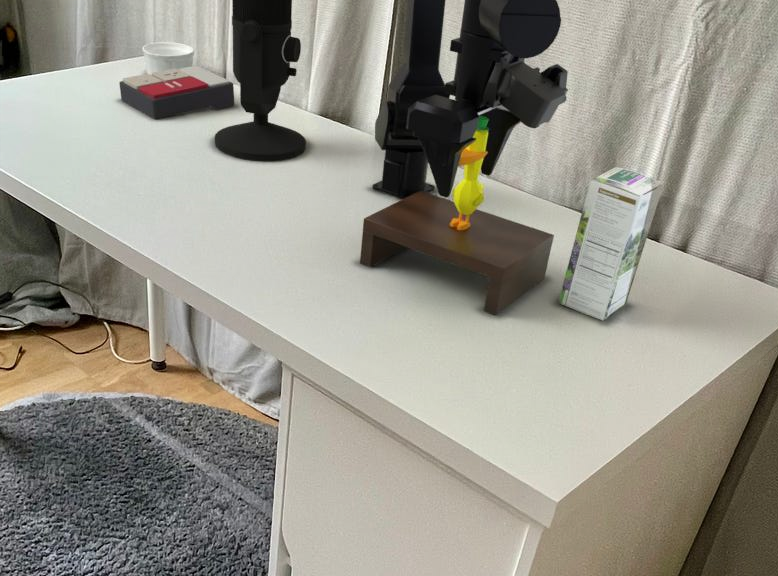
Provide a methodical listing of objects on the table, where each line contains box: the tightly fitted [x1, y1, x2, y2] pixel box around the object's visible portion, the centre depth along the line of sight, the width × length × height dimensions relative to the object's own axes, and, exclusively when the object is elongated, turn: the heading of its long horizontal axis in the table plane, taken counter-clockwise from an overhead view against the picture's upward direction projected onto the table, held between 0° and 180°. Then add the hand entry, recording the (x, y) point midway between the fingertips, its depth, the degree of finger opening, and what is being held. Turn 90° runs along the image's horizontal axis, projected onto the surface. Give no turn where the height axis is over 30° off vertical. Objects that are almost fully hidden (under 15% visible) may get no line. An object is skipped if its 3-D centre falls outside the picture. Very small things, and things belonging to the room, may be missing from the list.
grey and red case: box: [118, 65, 235, 120], centre depth 144 cm, size 11×4×15 cm
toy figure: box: [450, 116, 489, 230], centre depth 97 cm, size 7×4×12 cm, turn 135°
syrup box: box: [558, 166, 664, 321], centre depth 95 cm, size 6×6×14 cm
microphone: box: [214, 0, 307, 162], centre depth 125 cm, size 14×14×25 cm
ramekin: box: [142, 41, 195, 75], centre depth 157 cm, size 9×9×4 cm
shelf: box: [359, 191, 555, 316], centre depth 102 cm, size 12×18×6 cm, turn 54°
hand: (465, 185), depth 97 cm, fingers open, 9 cm apart
